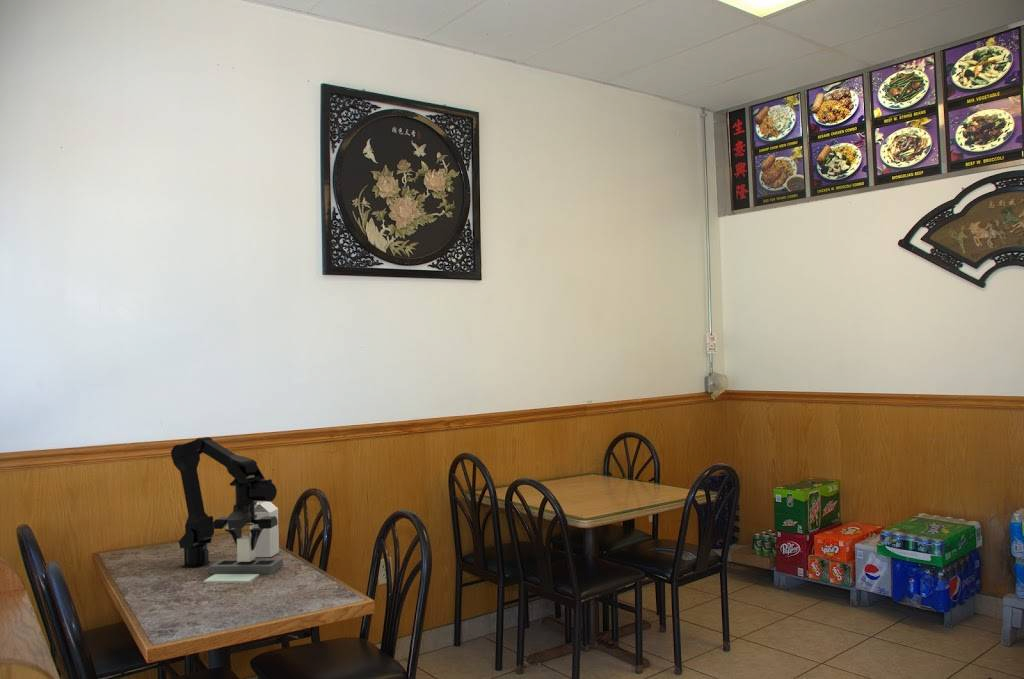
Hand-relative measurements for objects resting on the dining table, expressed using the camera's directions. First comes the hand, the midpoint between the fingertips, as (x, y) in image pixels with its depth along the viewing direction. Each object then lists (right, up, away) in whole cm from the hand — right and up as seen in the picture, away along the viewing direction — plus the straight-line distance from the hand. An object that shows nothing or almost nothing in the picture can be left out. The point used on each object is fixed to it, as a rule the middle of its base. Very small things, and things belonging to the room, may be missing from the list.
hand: (246, 550), depth 243 cm
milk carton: (0, -7, +18) cm, 20 cm away
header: (0, -6, 0) cm, 6 cm away
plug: (0, -3, 0) cm, 3 cm away
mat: (-1, -6, -10) cm, 12 cm away
